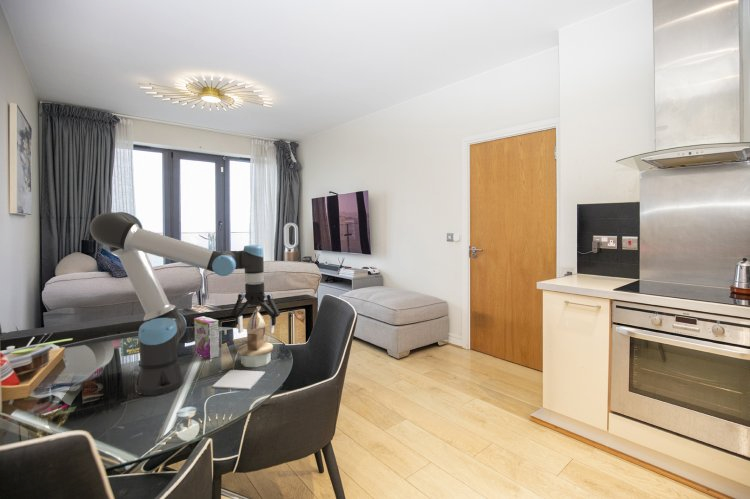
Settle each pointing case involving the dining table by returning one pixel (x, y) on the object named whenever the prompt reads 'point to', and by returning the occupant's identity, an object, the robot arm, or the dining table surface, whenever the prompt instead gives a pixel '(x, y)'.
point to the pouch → (256, 321)
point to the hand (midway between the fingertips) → (256, 332)
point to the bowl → (255, 360)
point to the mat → (239, 379)
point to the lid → (255, 344)
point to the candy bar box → (206, 337)
